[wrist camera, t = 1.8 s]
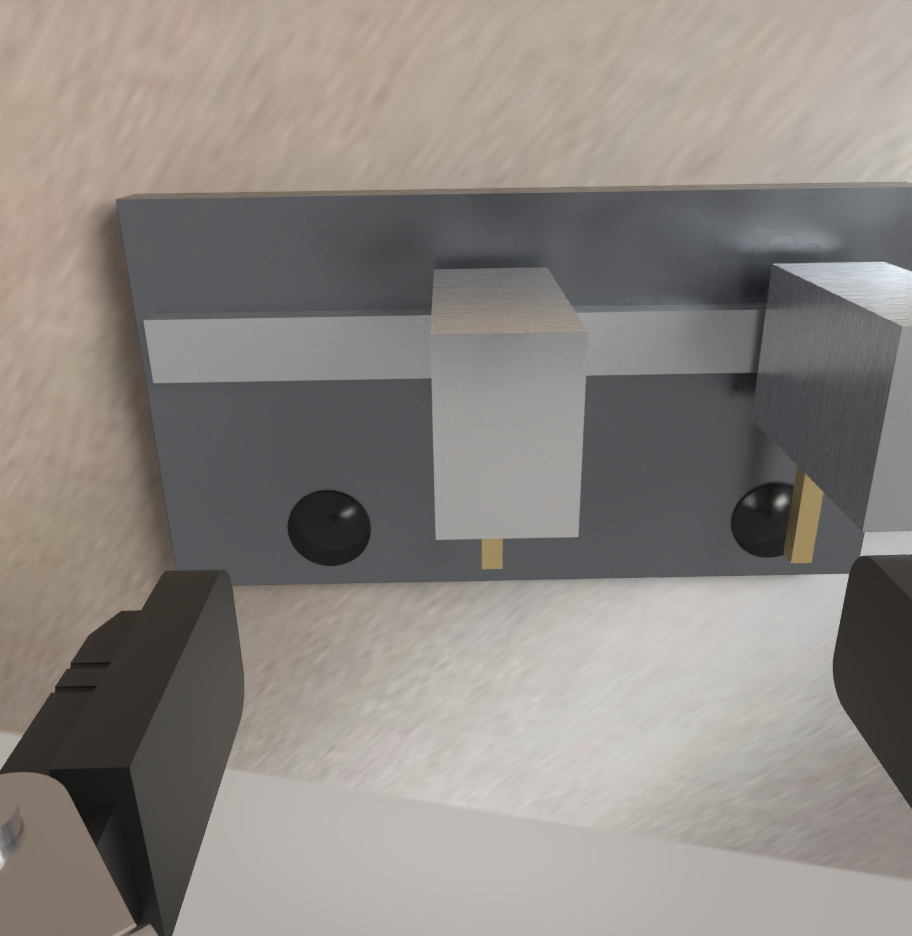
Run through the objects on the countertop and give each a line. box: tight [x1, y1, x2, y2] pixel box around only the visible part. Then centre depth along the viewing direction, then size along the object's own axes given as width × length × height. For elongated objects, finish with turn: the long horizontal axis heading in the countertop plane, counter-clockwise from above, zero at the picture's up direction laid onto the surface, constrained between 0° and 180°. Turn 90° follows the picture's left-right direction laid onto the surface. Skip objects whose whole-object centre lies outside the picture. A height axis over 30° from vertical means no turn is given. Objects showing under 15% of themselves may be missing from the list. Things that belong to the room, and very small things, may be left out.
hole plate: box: [116, 182, 912, 585], centre depth 26 cm, size 22×12×2 cm, turn 91°
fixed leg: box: [752, 262, 912, 563], centre depth 21 cm, size 3×8×7 cm, turn 1°
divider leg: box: [430, 267, 588, 569], centre depth 21 cm, size 3×8×7 cm, turn 1°
